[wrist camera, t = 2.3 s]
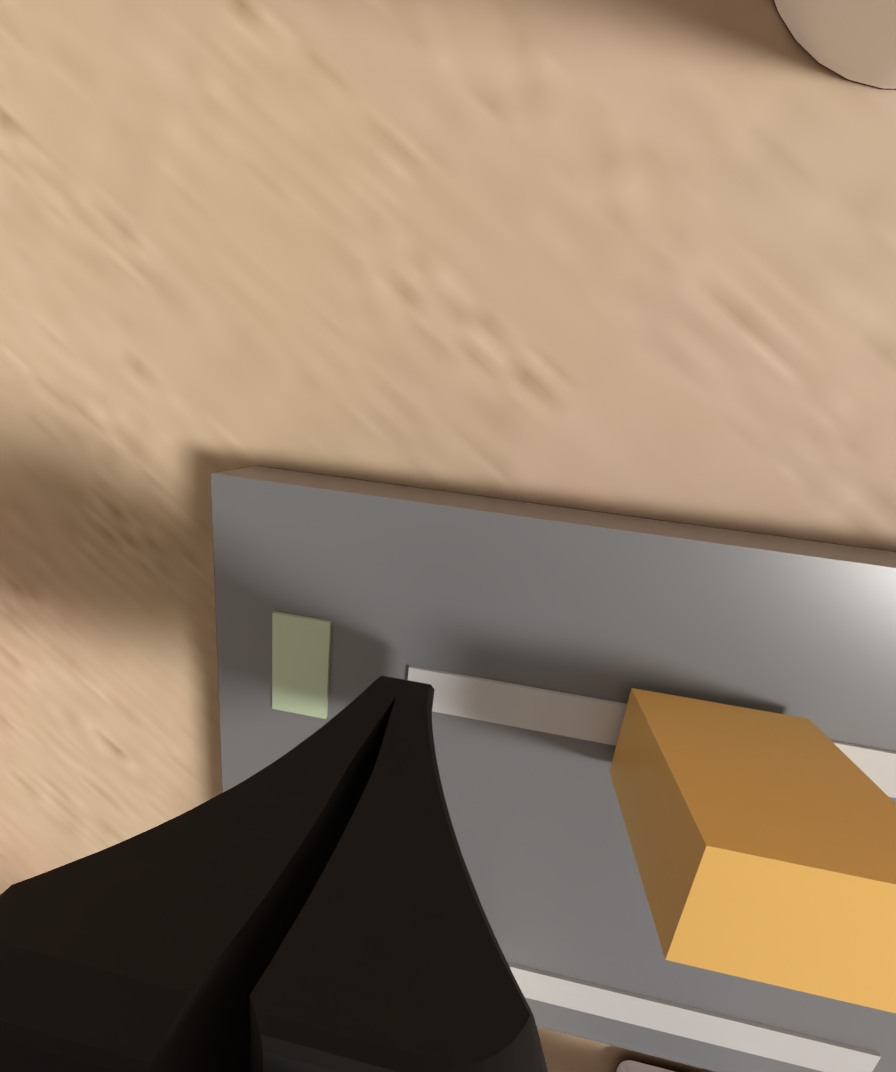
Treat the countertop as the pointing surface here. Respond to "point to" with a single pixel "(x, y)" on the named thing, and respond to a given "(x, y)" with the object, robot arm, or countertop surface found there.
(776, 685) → the gray slider board
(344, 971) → the robot arm
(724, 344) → the countertop surface
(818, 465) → the countertop surface
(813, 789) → the orange rectangular block
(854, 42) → the cylindrical container
